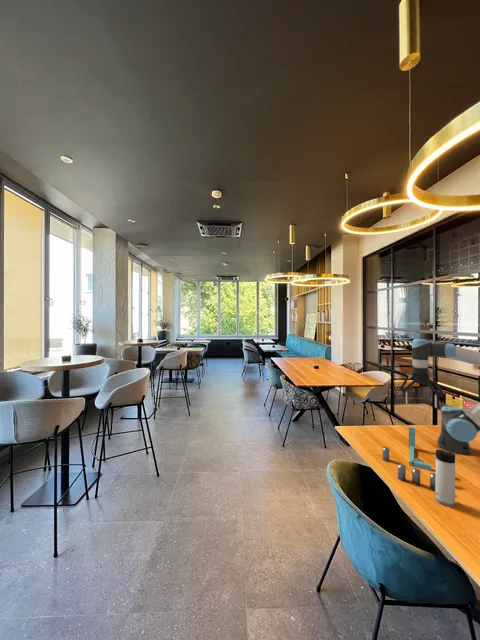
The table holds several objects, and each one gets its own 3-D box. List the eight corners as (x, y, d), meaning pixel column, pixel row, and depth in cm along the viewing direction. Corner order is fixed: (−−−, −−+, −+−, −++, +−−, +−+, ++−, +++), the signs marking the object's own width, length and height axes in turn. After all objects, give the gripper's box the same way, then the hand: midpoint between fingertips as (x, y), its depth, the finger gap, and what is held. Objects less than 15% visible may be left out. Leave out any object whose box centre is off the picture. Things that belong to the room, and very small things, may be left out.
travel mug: (433, 501, 110) (434, 451, 110) (437, 494, 114) (437, 446, 114) (453, 509, 105) (453, 456, 105) (456, 501, 110) (456, 451, 110)
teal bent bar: (408, 446, 158) (408, 425, 159) (428, 451, 153) (428, 429, 153) (408, 464, 138) (408, 440, 138) (431, 470, 133) (431, 445, 133)
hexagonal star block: (423, 463, 141) (423, 459, 141) (425, 467, 136) (425, 463, 136) (414, 461, 142) (414, 457, 142) (415, 465, 138) (415, 461, 138)
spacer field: (443, 472, 132) (443, 459, 132) (447, 494, 115) (447, 479, 115) (382, 457, 145) (383, 446, 145) (379, 475, 128) (379, 462, 128)
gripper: (394, 366, 158) (394, 403, 158) (448, 369, 144) (449, 410, 144) (395, 364, 164) (395, 400, 164) (447, 367, 151) (448, 407, 150)
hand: (420, 405), depth 154 cm, fingers open, 13 cm apart
